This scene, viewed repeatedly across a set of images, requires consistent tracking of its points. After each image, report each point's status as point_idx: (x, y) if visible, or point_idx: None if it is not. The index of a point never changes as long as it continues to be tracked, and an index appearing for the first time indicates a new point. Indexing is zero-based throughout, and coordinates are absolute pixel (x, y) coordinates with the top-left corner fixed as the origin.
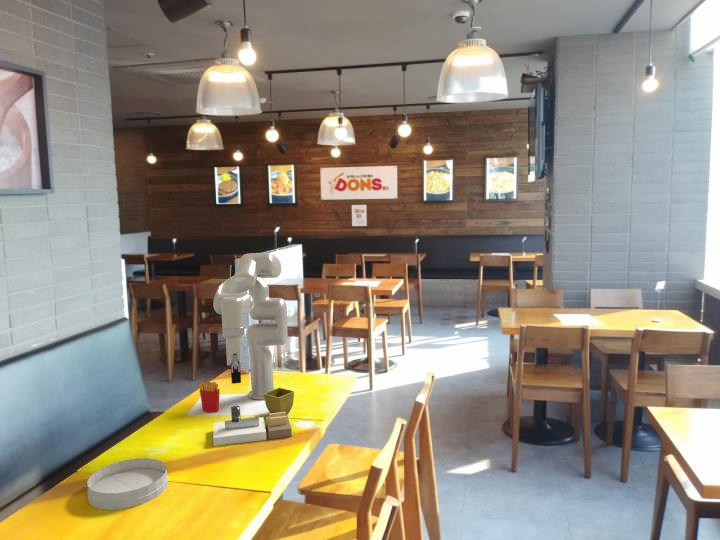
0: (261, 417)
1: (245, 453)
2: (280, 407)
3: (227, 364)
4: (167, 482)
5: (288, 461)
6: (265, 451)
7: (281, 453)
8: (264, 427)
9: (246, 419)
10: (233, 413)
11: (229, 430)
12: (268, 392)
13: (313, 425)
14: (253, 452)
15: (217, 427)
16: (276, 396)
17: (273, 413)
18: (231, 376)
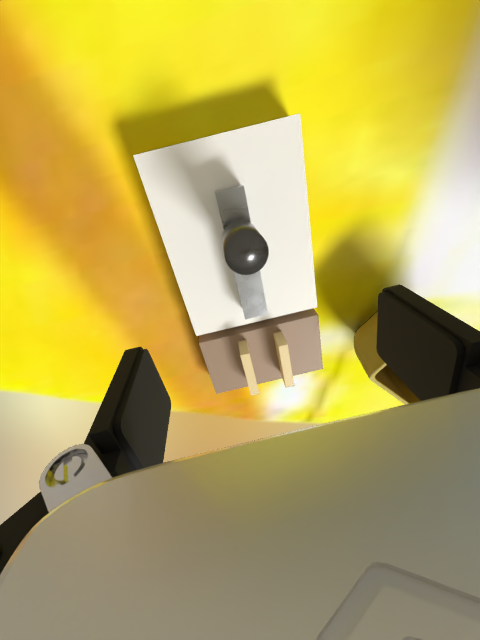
0: (315, 302)
1: (96, 284)
2: (357, 356)
3: (26, 536)
4: None
5: (68, 392)
6: (117, 334)
7: (110, 372)
8: (228, 326)
9: (248, 277)
10: (223, 242)
11: (208, 210)
12: None
13: (279, 410)
14: (106, 305)
15: (243, 146)
16: None
17: (285, 356)
18: (107, 395)
